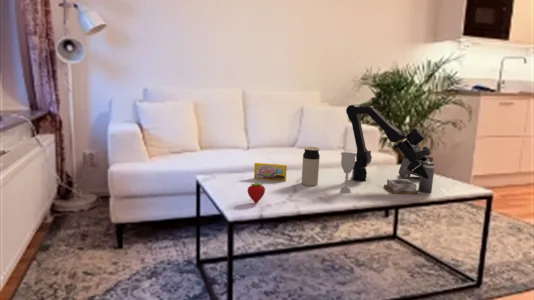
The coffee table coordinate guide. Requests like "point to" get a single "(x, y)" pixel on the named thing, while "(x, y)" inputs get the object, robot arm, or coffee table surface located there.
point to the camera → (403, 169)
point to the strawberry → (256, 191)
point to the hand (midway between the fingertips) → (429, 177)
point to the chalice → (347, 168)
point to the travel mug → (310, 166)
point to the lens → (426, 184)
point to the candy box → (270, 171)
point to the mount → (401, 186)
